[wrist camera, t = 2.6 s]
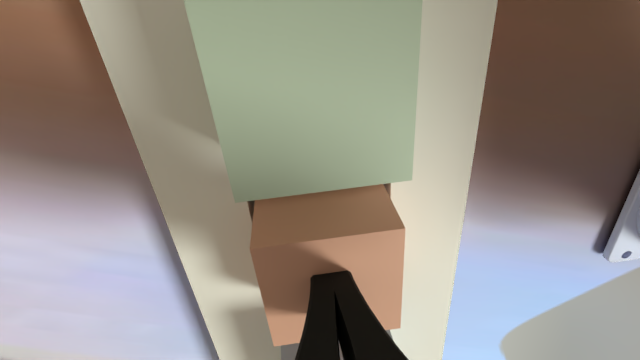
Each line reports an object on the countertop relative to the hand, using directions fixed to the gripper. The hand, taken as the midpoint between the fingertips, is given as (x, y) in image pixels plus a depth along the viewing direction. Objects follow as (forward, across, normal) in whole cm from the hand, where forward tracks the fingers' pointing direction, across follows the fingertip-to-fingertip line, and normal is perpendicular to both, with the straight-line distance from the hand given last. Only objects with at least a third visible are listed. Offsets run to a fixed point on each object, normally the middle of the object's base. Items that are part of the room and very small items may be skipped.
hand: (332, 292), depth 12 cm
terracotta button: (+3, 0, 0) cm, 3 cm away
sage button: (+3, 0, -7) cm, 7 cm away
